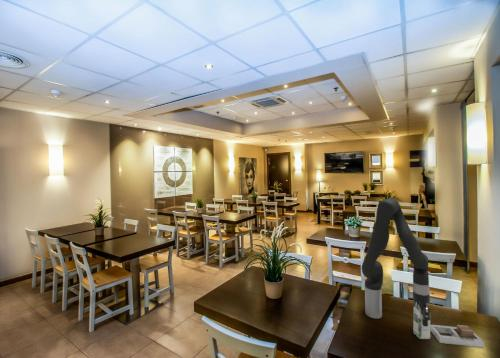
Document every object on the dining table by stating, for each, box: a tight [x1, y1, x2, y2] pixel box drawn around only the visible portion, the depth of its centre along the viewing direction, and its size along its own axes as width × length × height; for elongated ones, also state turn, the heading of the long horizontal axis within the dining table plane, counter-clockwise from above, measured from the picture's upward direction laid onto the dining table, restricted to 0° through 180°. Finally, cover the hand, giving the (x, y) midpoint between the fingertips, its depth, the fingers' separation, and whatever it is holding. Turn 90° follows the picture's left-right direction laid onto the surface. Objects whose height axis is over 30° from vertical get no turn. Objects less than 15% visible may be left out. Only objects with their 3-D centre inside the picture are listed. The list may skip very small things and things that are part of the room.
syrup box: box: [412, 306, 431, 340], centre depth 135 cm, size 6×6×14 cm
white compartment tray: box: [430, 324, 485, 349], centre depth 133 cm, size 11×19×3 cm, turn 77°
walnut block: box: [456, 324, 475, 339], centre depth 132 cm, size 5×5×6 cm
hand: (421, 321), depth 135 cm, fingers open, 8 cm apart
